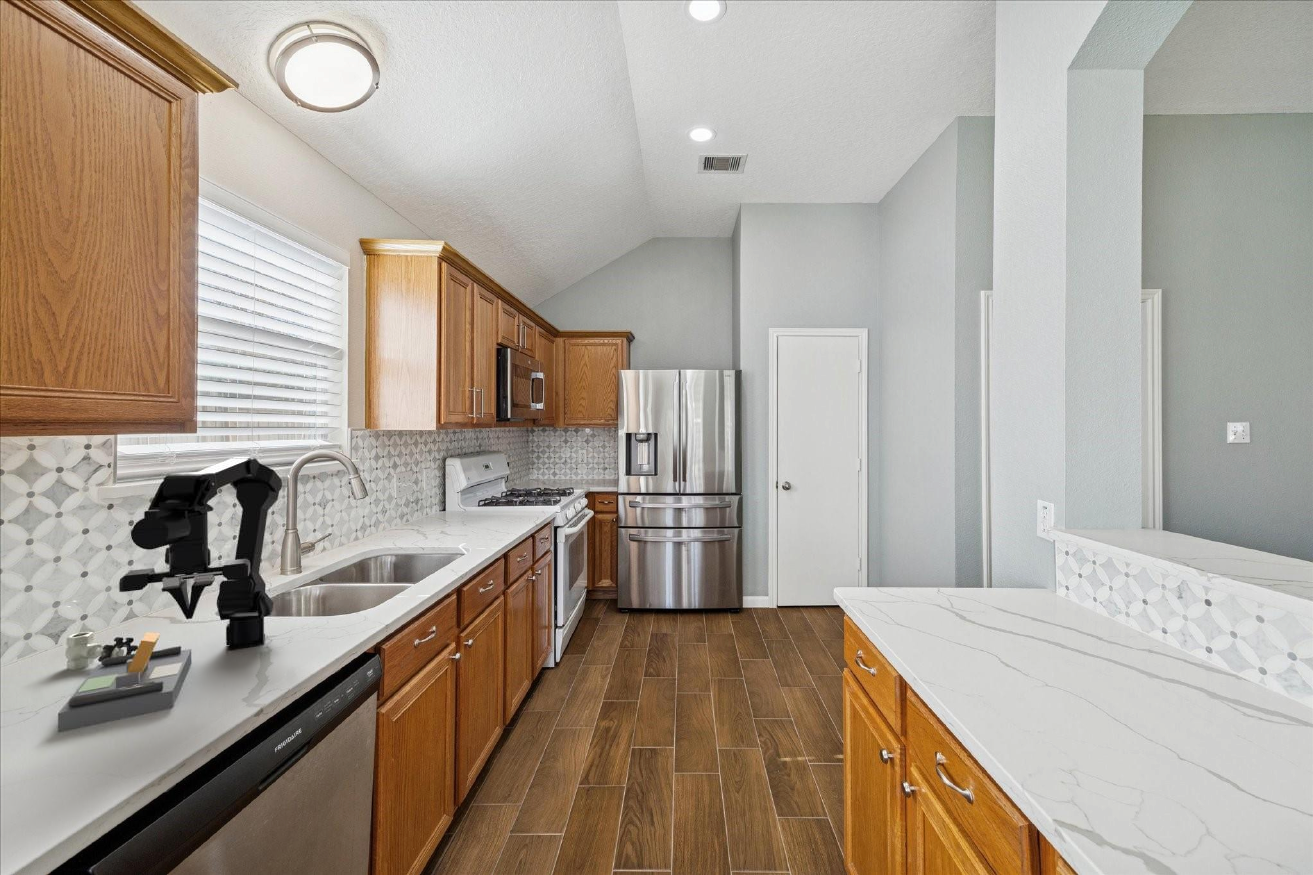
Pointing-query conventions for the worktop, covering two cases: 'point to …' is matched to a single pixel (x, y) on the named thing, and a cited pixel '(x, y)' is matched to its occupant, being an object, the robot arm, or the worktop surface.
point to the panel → (126, 689)
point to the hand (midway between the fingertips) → (189, 618)
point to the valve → (93, 650)
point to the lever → (143, 652)
